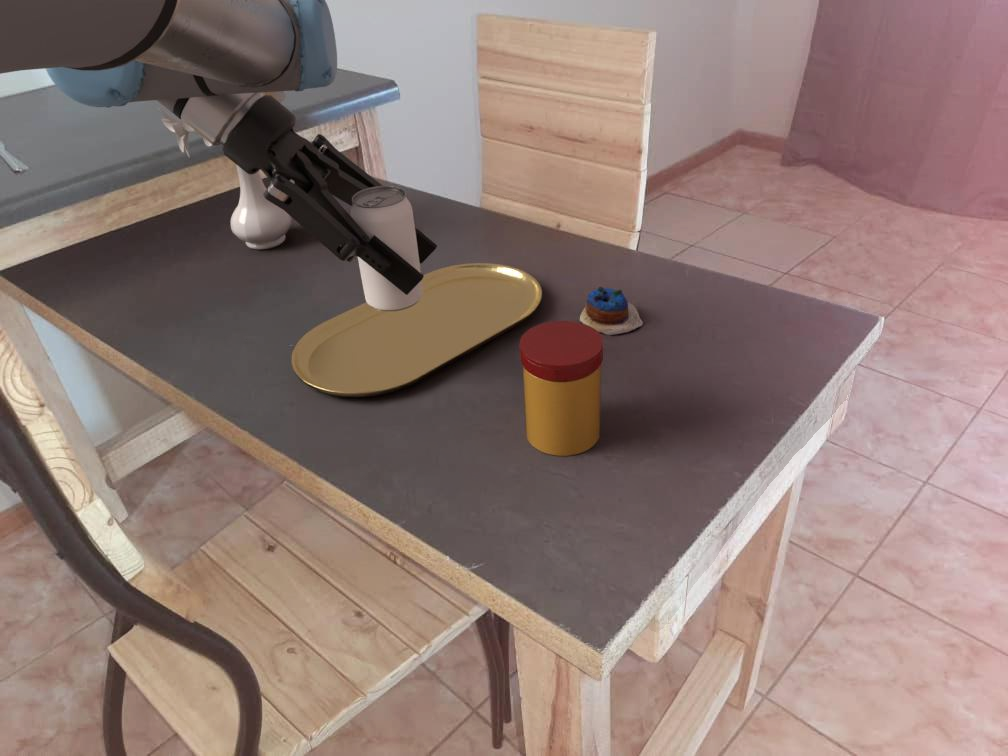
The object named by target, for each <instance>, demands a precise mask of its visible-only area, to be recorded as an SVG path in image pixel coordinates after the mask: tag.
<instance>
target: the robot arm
mask: <svg viewBox="0 0 1008 756" xmlns="http://www.w3.org/2000/svg"><path fill="white" fill-rule="evenodd" d="M43 69H45V71H46V73H47V75H48V76H49V78H50V80H51V81H52V82H53V83H54V85H55V86H56V87H57V88H58V89H59V90H60V91H61V92H62V93H63V94H64V95H65V96H67V97H68V98H69V99H71V100H73V101H74V102H77V103H79V104H82V105H83V106H84V105H85V106H88V107H94V108H107V109H108V108H112V107H125V106H126V105H128V103H129V104H130V103H136V102H148V101H149V102H150V101H156V102H158V103H159V104H160V105H162V106H163V107H164V108H166V109H167V110H168V111H169V112H170V113H172V114H174V115H175V116H176V117H177V119H178V120H181V121H182V122H183V123H184V122H185V123H187V124H188V125H189V126H190V127H192V128H193V129H194V131H193V132H194V133H195V132H196V133H195V134H197V135H200V136H201V137H202V138H203V137H204V138H205V139H206V140H207V141H209V142H210V143H211V144H212V146H213V147H217V146H220V145H222V152H223V155H224V156H225V157H226V158H228V159H229V160H230V161H231V162H233V163H234V164H235V166H236V165H238V166H239V167H240V168H241V169H243V170H244V171H245V172H246V173H248V174H255V173H257V172H258V171H259V172H260V171H261V172H262V173H263V174H264V175H265V177H267V179H268V180H269V181H270V184H269V186H268V187H266V189H267V190H266V191H265V192H264V197H265V198H266V199H267V200H268V201H270V202H271V203H273V204H275V205H276V206H278V207H279V208H281V209H283V210H284V211H285V212H287V213H288V214H289V215H290V216H291V217H292V220H295V222H296V223H298V224H299V225H300V226H301V227H303V229H305V231H307V232H308V233H309V234H310V235H311V236H312V237H314V238H315V239H316V240H317V241H318V242H320V244H321V245H323V246H324V247H325V248H326V249H327V250H329V251H330V252H331V253H332V255H334V256H335V257H336V258H338V259H339V260H340V261H342V262H346V261H347V262H349V263H351V262H353V260H354V259H356V257H357V256H358V257H359V258H361V259H362V260H363V261H364V262H366V263H367V264H368V265H369V266H371V267H372V268H373V269H374V270H376V271H377V272H378V273H380V274H381V275H382V276H384V277H385V278H386V279H387V280H389V281H390V282H391V283H392V284H393V285H395V286H396V287H397V288H398V289H400V290H401V291H402V292H403V293H405V294H406V295H408V294H409V293H410V292H411V290H412V289H413V288H414V287H415V286H416V285H417V284H418V283H419V282H420V281H421V280H422V279H423V277H424V275H425V274H422V272H421V273H420V272H419V271H417V270H416V269H415V268H414V267H413V266H411V265H410V264H409V263H408V262H407V261H405V260H404V259H403V258H402V257H401V256H399V255H398V254H397V253H396V252H394V251H393V250H392V249H391V248H390V247H388V246H387V245H386V244H385V243H384V242H382V241H381V240H380V239H379V238H377V237H376V236H375V235H374V236H373V237H372V238H371V239H370V238H369V237H368V235H367V234H366V233H365V232H364V231H363V230H362V229H361V227H360V226H359V225H358V224H357V223H356V222H355V221H354V220H353V218H352V217H351V216H350V213H348V211H347V210H346V208H344V207H343V206H342V205H341V203H340V202H339V201H338V200H341V201H342V202H344V203H345V204H347V205H348V206H350V207H352V205H353V202H352V197H353V195H354V194H356V193H357V192H359V191H361V190H364V189H367V188H371V187H377V186H383V184H381V183H380V182H379V181H377V180H376V179H375V178H374V177H372V176H371V175H370V174H369V173H367V172H366V171H365V170H364V169H362V168H361V167H360V166H359V165H357V164H356V163H355V162H354V161H352V160H351V159H349V158H348V157H347V156H346V155H345V154H343V153H342V152H341V151H340V150H338V149H337V148H336V147H335V146H334V145H333V144H332V142H330V141H329V140H328V139H327V138H326V137H325V135H323V134H321V133H317V135H316V136H315V138H314V139H313V140H311V141H310V140H308V139H307V138H305V137H304V136H301V134H298V133H297V132H295V131H294V127H295V125H296V123H297V117H296V116H295V114H294V113H293V112H292V111H291V110H290V109H289V108H288V107H287V108H288V109H289V110H290V111H291V112H290V111H289V110H288V109H287V108H285V107H286V106H285V105H284V104H282V102H278V101H277V100H276V99H275V98H274V97H273V96H271V95H269V96H268V95H265V96H263V95H261V93H262V92H268V93H269V92H277V91H284V92H291V91H292V92H293V91H295V92H303V91H305V90H309V89H317V88H326V87H329V86H330V85H331V84H333V83H334V81H335V79H336V78H337V74H338V49H337V41H336V34H335V27H334V22H333V20H332V15H331V11H330V8H329V5H328V3H327V1H326V0H0V75H1V74H6V73H13V72H21V71H30V70H43ZM283 105H284V106H285V107H284V106H283ZM336 198H337V199H338V200H337V199H336ZM415 232H416V239H417V247H418V255H419V262H420V265H423V263H424V262H425V261H426V260H427V259H428V258H429V257H430V255H432V254H433V252H434V251H435V250H436V249H437V247H438V245H437V244H436V243H435V242H434V241H432V240H431V239H430V238H429V237H428V236H426V234H424V232H422V231H421V230H419V229H418V228H417V227H416V226H415ZM358 257H357V258H358Z"/></svg>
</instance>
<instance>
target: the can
mask: <svg viewBox="0 0 1008 756" xmlns="http://www.w3.org/2000/svg"><path fill="white" fill-rule="evenodd" d="M352 202H353V205H352V206H351V208H350V213H349V215H350V216H351V217H352V218H353V220H354V221H355V222H356V223H357V224H358V225H359V226H360V227H361V229H362V230H363V231H364V232H365V233H366V234H367V235H368V237H369V238H370V239H371V238H372V237H373V236H374V235H375V236H376V237H377V238H379V239H380V240H381V241H382V242H384V243H385V244H386V245H387V246H388V247H390V248H391V249H392V250H393V251H394V252H396V253H397V254H398V255H399V256H401V257H402V258H403V259H404V260H405V261H407V262H408V263H409V264H410V265H411V266H413V267H414V268H415V269H416V270H417V271H419V272H420V273H421V274H422V271H421V263H420V262H419V255H418V247H417V239H416V232H415V227H416V226H415V225H416V224H415V217H414V212H413V207H412V204H411V202H410V200H409V199H408V198H407V191H406V190H405V189H403V188H402V187H399V186H394V185H393V186H392V185H382V186H377V187H371V188H367V189H364V190H361V191H359V192H357V193H356V194H354V195H353V197H352ZM356 257H357V261H358V267H359V273H360V279H361V284H362V290H363V295H364V299H365V303H366V302H367V303H368V304H369V305H370V306H371V307H373V308H374V309H377V310H380V311H399V310H403V309H407V308H409V307H411V306H413V305H415V304H416V303H417V302H418V301H419V300H420V298H421V297H422V295H423V286H422V280H421V281H420V282H419V283H418V284H417V285H416V286H415V287H414V288H413V289H412V290H411V292H410V293H409V294H408V295H406V294H405V293H403V292H402V291H401V290H400V289H398V288H397V287H396V286H395V285H393V284H392V283H391V282H390V281H389V280H387V279H386V278H385V277H384V276H382V275H381V274H380V273H378V272H377V271H376V270H374V269H373V268H372V267H371V266H369V265H368V264H367V263H366V262H364V261H363V260H362V259H361V258H359V257H358V256H356Z"/></svg>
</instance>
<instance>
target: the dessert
mask: <svg viewBox="0 0 1008 756" xmlns="http://www.w3.org/2000/svg"><path fill="white" fill-rule="evenodd" d="M579 322H580V323H583V324H586V325H588V326H590V327H592V328H594V329H595V330H597V331H598V332H599V333H602V334H604V335H607V336H613V335H619V334H625V333H629V332H631V331H634V330H636V329H637V328H639V327H642V326H643V325H644V322H643V320H642V319H641V318H640V313H639V312H638V309H637V308H636V306H635V305H633V304H632V303H630V302H628V299H627V298H626V297H625V294H624V293H623V291H622V290H621V289H617V290H616V289H612V288H609V287H608V288H607V287H602V286H599V287H598V288H596V289H594V290H592V291H591V292H589V293H588V295H587V300H586V303H585V307H584V308H583V310H582V311H581V314H580V316H579Z"/></svg>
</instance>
